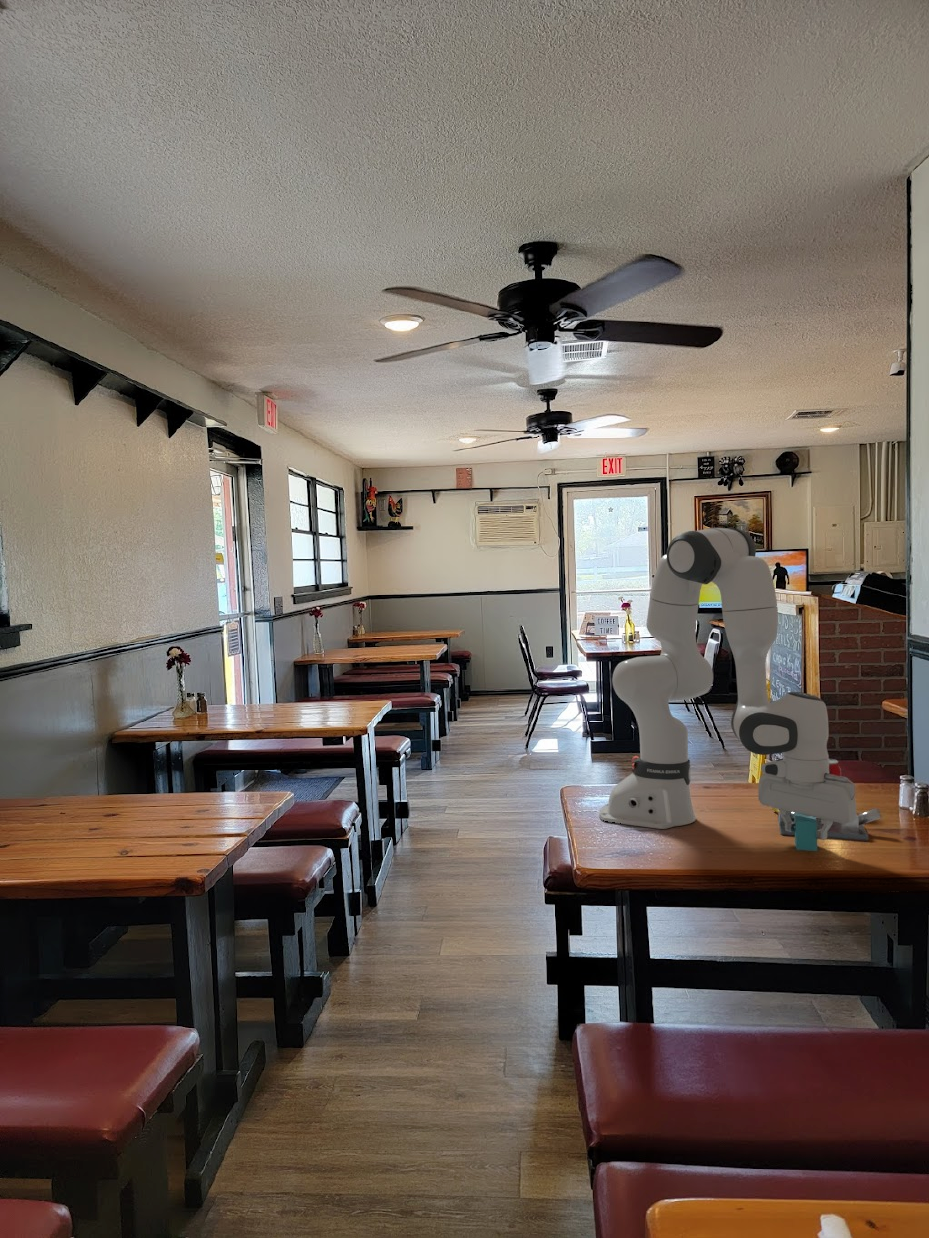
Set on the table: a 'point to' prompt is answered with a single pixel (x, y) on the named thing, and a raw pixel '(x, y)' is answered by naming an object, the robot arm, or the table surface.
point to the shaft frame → (839, 826)
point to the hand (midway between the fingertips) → (805, 834)
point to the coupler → (805, 833)
